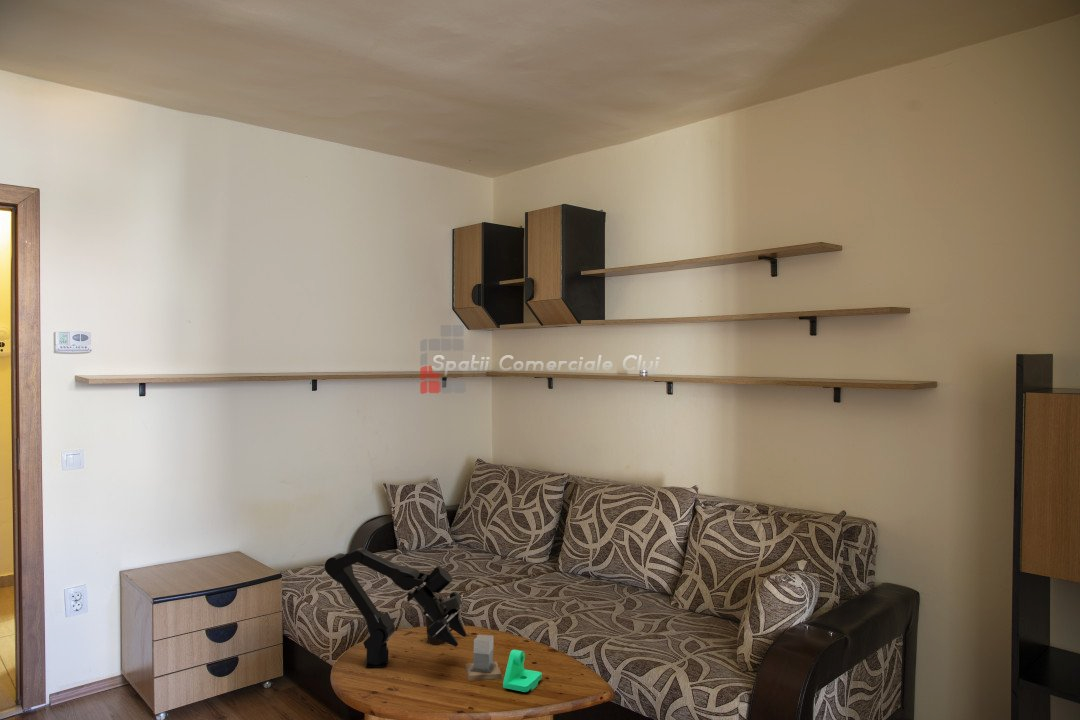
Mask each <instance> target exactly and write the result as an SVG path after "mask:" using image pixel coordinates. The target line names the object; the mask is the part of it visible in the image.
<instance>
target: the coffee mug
mask: <svg viewBox="0 0 1080 720" xmlns="http://www.w3.org/2000/svg"><path fill="white" fill-rule="evenodd" d="M424 617H425V624H426V630H427V629H428V628H429V627H430V626H431V625H432V624H431V623H432V622H433V621H432V620H431V618H430V617H429V616H428V615H427V614H426V615H424ZM449 630H450V632H451V631H454V630H453V629H451V628H449ZM426 635H427V636H426V638H427V644H429V643H430V644H429V645H431V644H433V645H432V646H441V645H440V644H442V645H445V644H446V643H445V642H444V641H441V640H439V639H436V638H433V637H434V636H435V635H436V634H435V635H433V636H432V637H431V638H430V637H429V636H428V634H427V633H426Z"/></svg>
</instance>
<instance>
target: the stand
mask: <svg viewBox="0 0 1080 720" xmlns="http://www.w3.org/2000/svg"><path fill="white" fill-rule="evenodd" d="M493 663H494V664H496V666H495V667H494V669H493V670H492V672H491V673H481V672H470V669H471V668H472V667H473V662H472V663H471V662H469V663H465V672H466V675H467V678H468V681H469V682H471V681H484V680H499V679H502V672H501V669H500V667H499V665H498V661H493Z"/></svg>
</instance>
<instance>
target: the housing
mask: <svg viewBox="0 0 1080 720" xmlns="http://www.w3.org/2000/svg"><path fill="white" fill-rule="evenodd" d="M494 640H495V639H494V635H489V634H478V635H476V637H475V638H474V640H473V657H472V658H473V661H472V663H473V667H472V668H471V669H470V672H481V673H491V672H492V670H493V669H494V667H495V666H496V664H494V663H493V662H494Z"/></svg>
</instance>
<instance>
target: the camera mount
mask: <svg viewBox="0 0 1080 720" xmlns="http://www.w3.org/2000/svg"><path fill="white" fill-rule="evenodd" d="M507 660H508V661H507V665H506V669H505V674H504V677H503V681H502V684H503V685H502V688H503V689H507V690H508V689H509V690H513V691H519V692H523V693H527V692H529V690H530V691H531V692H532V691H533V690H535V688H536V687H537V686H538V685H539V682H540V681H541V680H542V676H543V675H542V672H541V671H536V670H531V669H530V670H529V669H526V668H525V665H524V663H525V660H526V652H525V651H524V650H520V649H519V650H518V649H512V650H511V651H510V653H509V657H508V659H507Z"/></svg>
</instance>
